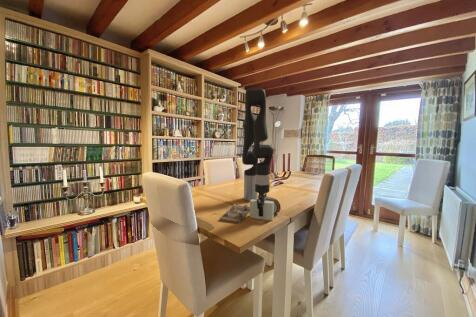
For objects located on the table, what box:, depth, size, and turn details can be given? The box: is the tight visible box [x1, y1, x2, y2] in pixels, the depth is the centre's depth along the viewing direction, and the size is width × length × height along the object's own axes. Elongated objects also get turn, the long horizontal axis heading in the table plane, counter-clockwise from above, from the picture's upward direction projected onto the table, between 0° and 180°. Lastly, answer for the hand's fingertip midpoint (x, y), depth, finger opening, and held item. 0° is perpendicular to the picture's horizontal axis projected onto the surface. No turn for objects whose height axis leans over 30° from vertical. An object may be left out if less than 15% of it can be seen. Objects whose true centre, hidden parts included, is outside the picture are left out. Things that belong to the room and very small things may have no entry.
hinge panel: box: [219, 203, 250, 224], centre depth 112 cm, size 22×11×4 cm, turn 162°
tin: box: [266, 195, 282, 215], centre depth 117 cm, size 15×3×8 cm, turn 41°
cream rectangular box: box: [249, 199, 275, 221], centre depth 107 cm, size 4×12×9 cm, turn 72°
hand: (261, 214), depth 108 cm, fingers closed on cream rectangular box, 3 cm apart
